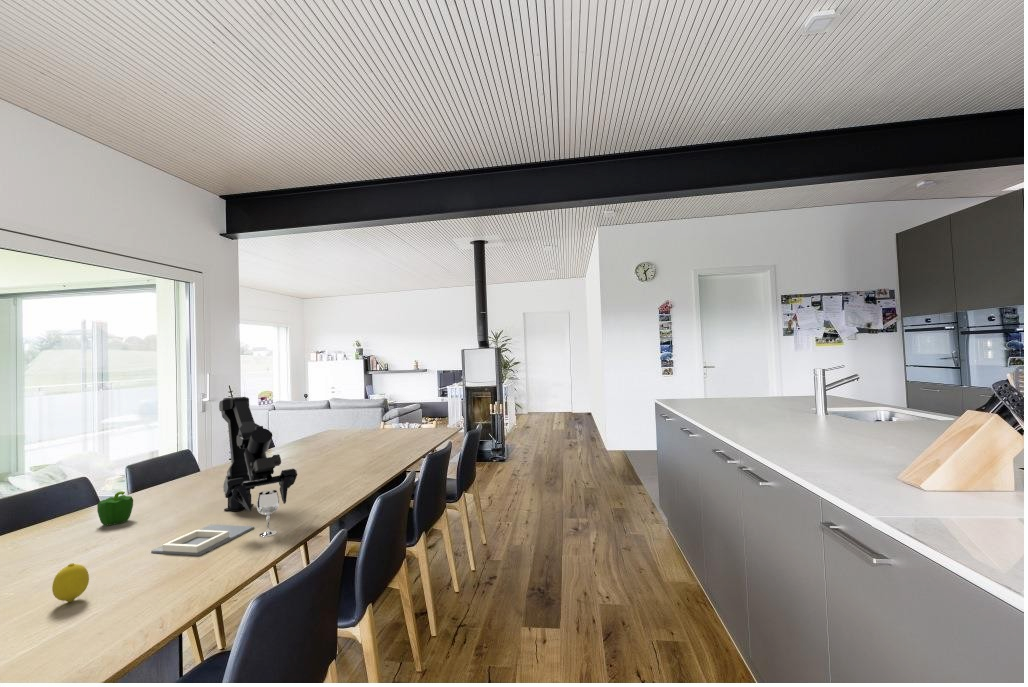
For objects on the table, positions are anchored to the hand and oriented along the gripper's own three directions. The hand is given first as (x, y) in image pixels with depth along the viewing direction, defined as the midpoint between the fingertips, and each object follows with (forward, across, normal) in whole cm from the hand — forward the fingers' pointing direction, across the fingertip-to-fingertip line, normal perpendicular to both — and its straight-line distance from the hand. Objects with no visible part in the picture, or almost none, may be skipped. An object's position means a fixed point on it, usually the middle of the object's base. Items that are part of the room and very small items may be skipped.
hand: (268, 506), depth 131 cm
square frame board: (-1, -14, +12) cm, 18 cm away
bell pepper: (-28, -32, +39) cm, 58 cm away
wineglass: (+6, 0, +6) cm, 8 cm away
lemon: (+13, -41, -2) cm, 43 cm away
